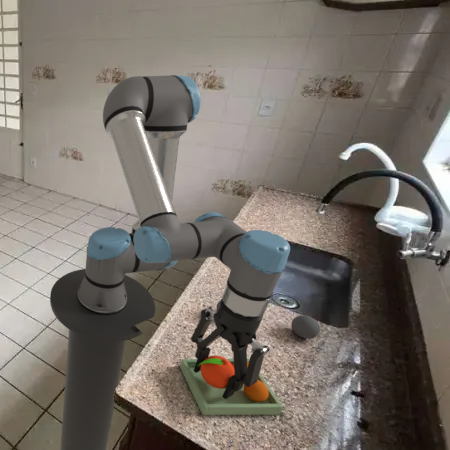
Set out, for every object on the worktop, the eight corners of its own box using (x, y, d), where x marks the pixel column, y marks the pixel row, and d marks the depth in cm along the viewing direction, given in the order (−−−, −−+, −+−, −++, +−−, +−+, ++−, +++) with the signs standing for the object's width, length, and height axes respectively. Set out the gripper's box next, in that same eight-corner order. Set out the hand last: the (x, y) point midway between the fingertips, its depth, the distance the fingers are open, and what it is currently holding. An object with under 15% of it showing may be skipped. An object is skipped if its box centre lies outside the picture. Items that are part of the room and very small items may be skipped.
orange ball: (236, 393, 79) (242, 379, 77) (249, 385, 81) (255, 371, 79) (256, 410, 75) (263, 396, 73) (269, 401, 77) (276, 387, 75)
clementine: (197, 392, 78) (205, 371, 74) (189, 367, 84) (196, 346, 80) (235, 397, 77) (245, 376, 73) (224, 371, 83) (233, 350, 79)
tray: (202, 414, 75) (205, 407, 74) (179, 366, 86) (181, 359, 85) (279, 414, 75) (283, 406, 74) (246, 365, 86) (249, 358, 85)
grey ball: (283, 331, 96) (291, 315, 93) (295, 324, 98) (303, 307, 96) (307, 346, 91) (315, 329, 88) (319, 338, 94) (328, 321, 91)
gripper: (307, 332, 62) (265, 411, 74) (211, 273, 78) (188, 346, 89) (282, 347, 60) (243, 427, 71) (187, 283, 75) (167, 356, 86)
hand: (212, 382), depth 80 cm, fingers closed on clementine, 7 cm apart
